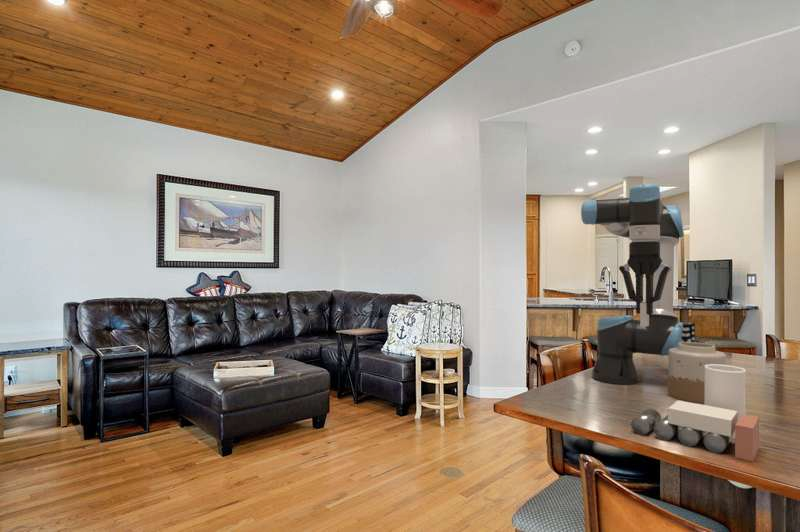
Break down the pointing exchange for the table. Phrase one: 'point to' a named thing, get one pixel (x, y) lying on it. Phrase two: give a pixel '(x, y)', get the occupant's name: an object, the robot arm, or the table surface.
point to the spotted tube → (688, 332)
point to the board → (703, 417)
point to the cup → (726, 388)
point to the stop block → (747, 437)
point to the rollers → (685, 435)
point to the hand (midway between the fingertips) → (644, 325)
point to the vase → (691, 370)
